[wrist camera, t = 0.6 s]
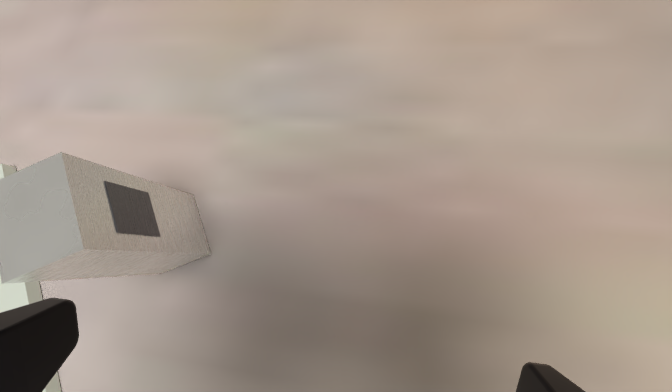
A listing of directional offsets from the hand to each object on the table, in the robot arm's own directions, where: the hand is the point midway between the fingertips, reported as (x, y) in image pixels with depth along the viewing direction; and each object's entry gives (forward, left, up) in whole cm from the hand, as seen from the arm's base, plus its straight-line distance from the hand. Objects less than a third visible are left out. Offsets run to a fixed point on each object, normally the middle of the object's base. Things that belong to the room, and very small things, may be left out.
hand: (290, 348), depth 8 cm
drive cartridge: (-10, +7, -15) cm, 19 cm away
